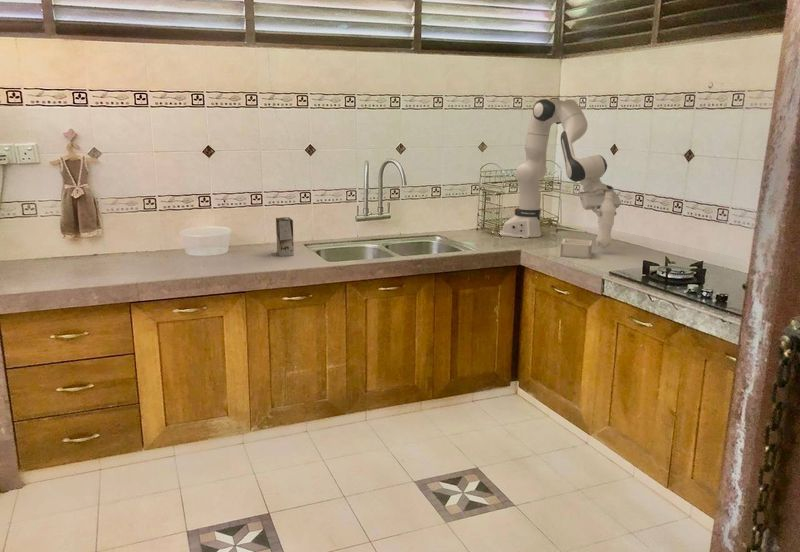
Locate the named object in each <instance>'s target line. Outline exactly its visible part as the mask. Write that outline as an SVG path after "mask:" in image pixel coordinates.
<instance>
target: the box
mask: <svg viewBox="0 0 800 552" xmlns="http://www.w3.org/2000/svg"><path fill="white" fill-rule="evenodd" d="M592 251H593V240H592V239H577V238H576V239H575V238H566V237H565V238H563V239H562V241H561V243H560V253H559V255H560V257H562V256H566V257H565V258H574V257H577V258H578V259H587V258H589V259H591V256H592V253H593V252H592ZM577 258H576V259H577ZM589 259H588V260H589Z"/></svg>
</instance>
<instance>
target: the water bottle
mask: <svg viewBox="0 0 800 552" xmlns="http://www.w3.org/2000/svg"><path fill="white" fill-rule="evenodd" d="M604 198H605V200H604V202H603V203H602V205H601V206H600V208H599V209H598V210H599V211H601V213H602V215H601V216H597V217H598V219H597V224H598V225H597V226H598V233H597V236H596V238H595V243H596V246H597V247H601V248H606V247H607V248H610V246H611V245H612V241H613V239H612V234H611V233H612V228H613V227H614V225H615V224H614V223H615V216H616V215H615V207H614V205H613V202H612V198H613V197H612V192H606V193H605V197H604ZM614 215H615V216H614Z"/></svg>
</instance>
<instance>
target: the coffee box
mask: <svg viewBox="0 0 800 552" xmlns="http://www.w3.org/2000/svg"><path fill="white" fill-rule="evenodd" d="M275 231H276V232H275V233H276V252H277V254H278V255H279V257H288V256H294V253H295V251H294V249H295V248H294V220H293V219H292V218H291V217H288V216H287V217H285V216H284V217H275Z"/></svg>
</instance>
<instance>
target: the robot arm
mask: <svg viewBox="0 0 800 552" xmlns="http://www.w3.org/2000/svg"><path fill="white" fill-rule="evenodd" d="M553 124H556V125H560V124H561V126H562V129H563V131H562V132H561V134H560V144H561V149H562V155H563V159H564V162H565V163H564V164H565V170H566V172H565V173H566V176H567V178H568V179H569V180H571V181H572V182H574V183H578V182H579V184H580V185H581V186H582V188H583V191H580V192H579V193H578V197H579V199H580V205H581V206H582V208H583V210H585V211H588V210H589V211H590V210H591V211H592V212H593V213H594V214H595V215H596V217H599V216H601V215H602V213H601V211H599V208H600V206H601V205H602V203H603V202H604V200H605V198H604V197H605V193H606V192H612V197H613V198H612V202H613V205H614V207H615V215H614V217H615V216H617V209H618V208H619V207H620V206H621V204H622V201H621V198H620V197H619V195H618V194H617V192H616V191H615V187H613V186H612V185H608V184H606V183H604V182H603V181H602V180H601V178H602V177H603V175H605V173H606V171H607V169H608V163H607V160H606V159H605V158H604V157H603V155H600V154H596V155H590V156H586V157H582V158H577V157H576V156H575V155H576V154H575V151H574V146H573V144H574V143H575V142H576V141H578V140H579V139H581V138H582V137H583V136H584V135H585V134H586V133H587V131H588V128H589V127H588V125H589V124H588V121H587V119H586V116H585V114H584V112H583V110H582V109H581V107H580V105H579V104H578V103H577V101H576V100H574V99H565V100H562V99H556V98H555V99H547V98H546V99H545V98H543V99H539V100H537V101H535V103H534V105H533V109H532V115H531V118H530V120H529V124H528V127H527V133H526V137H525V138H526V140H525V144H524V145H525V146H524V149H525V162H522V163H521V164H520V165H519V166H518V167H517V168H516V170H515V177H516V179H517V186H518V191H519V193H518V194H519V195H518V196H519V197H518V207H516V208H514V215H513V216H511V217H510V218H508V219H507V220H506V221H505V222H504V223H503V227H502V229H501V230H499V231H500V233H499V232H498V233H499V234H500V235H499V234H498V235H499V236H503V237H512V238H513V237H514V238H520V237H522V238H523V239H529V237H530V238H538V237H541V236H542V232H541V225H540V223H541V221H540V220H541V217H542V216H541V214H542V213H541V212H542V210H541V196H542V194H541V191H540V184H539V181H541V180H542V179H544V178H545V176H546V174H547V171H548V168H547V150H548V144H549V138H550V133H551V127H552V125H553Z"/></svg>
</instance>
